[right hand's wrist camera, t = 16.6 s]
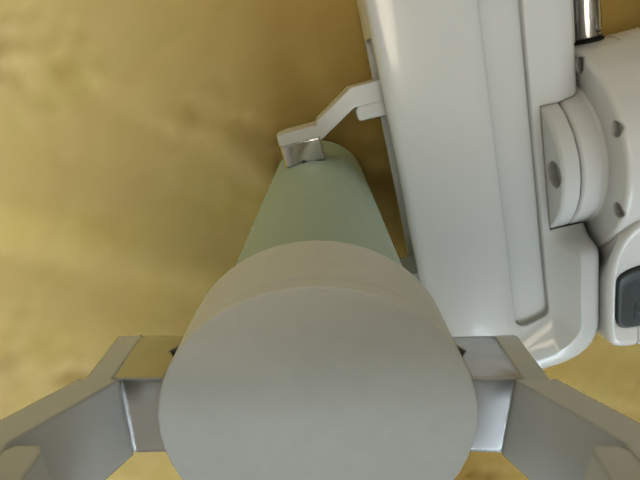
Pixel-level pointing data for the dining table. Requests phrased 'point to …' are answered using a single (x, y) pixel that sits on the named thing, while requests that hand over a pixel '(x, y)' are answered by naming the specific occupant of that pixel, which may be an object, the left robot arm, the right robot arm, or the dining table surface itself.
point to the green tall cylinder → (320, 207)
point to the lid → (318, 374)
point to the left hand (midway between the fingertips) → (300, 218)
